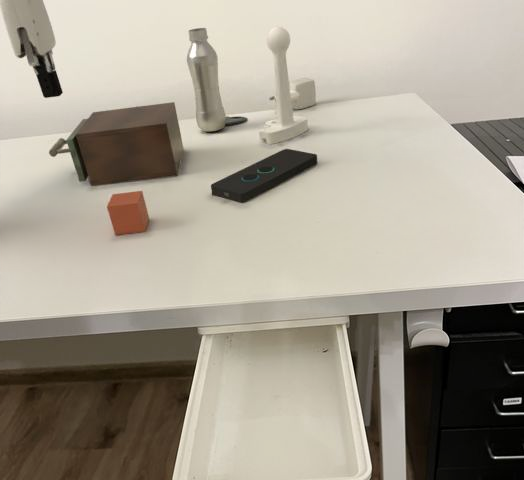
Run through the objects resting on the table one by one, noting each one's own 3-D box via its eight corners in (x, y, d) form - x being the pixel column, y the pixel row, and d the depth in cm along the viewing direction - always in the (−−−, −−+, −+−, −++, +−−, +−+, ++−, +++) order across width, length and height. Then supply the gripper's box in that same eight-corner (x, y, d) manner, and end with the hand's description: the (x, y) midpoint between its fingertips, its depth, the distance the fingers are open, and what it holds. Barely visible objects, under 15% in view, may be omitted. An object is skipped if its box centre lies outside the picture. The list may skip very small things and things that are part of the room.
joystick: (273, 145, 111) (263, 33, 99) (249, 139, 116) (237, 31, 104) (312, 129, 117) (306, 21, 104) (287, 124, 121) (279, 20, 109)
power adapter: (279, 117, 127) (277, 89, 123) (268, 113, 130) (265, 86, 127) (318, 105, 131) (317, 78, 127) (306, 102, 134) (305, 76, 131)
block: (115, 235, 86) (106, 206, 83) (120, 222, 90) (112, 194, 87) (145, 231, 86) (137, 202, 83) (149, 218, 89) (142, 190, 87)
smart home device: (208, 184, 94) (284, 147, 104) (209, 194, 95) (285, 156, 105) (242, 193, 89) (319, 154, 100) (243, 203, 90) (319, 163, 101)
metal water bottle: (205, 125, 128) (189, 27, 115) (232, 125, 125) (218, 25, 113) (193, 134, 123) (175, 33, 111) (220, 135, 121) (205, 31, 108)
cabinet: (91, 185, 104) (75, 134, 99) (106, 159, 116) (92, 112, 110) (177, 175, 104) (166, 123, 98) (183, 150, 115) (174, 102, 109)
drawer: (53, 184, 105) (38, 143, 100) (70, 160, 115) (58, 122, 110) (159, 171, 104) (149, 129, 99) (167, 148, 114) (158, 109, 110)
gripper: (7, -24, 96) (45, 88, 107) (-25, -16, 84) (21, 109, 96) (49, -30, 96) (82, 83, 107) (22, -23, 84) (63, 104, 95)
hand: (53, 95), depth 101 cm, fingers closed
